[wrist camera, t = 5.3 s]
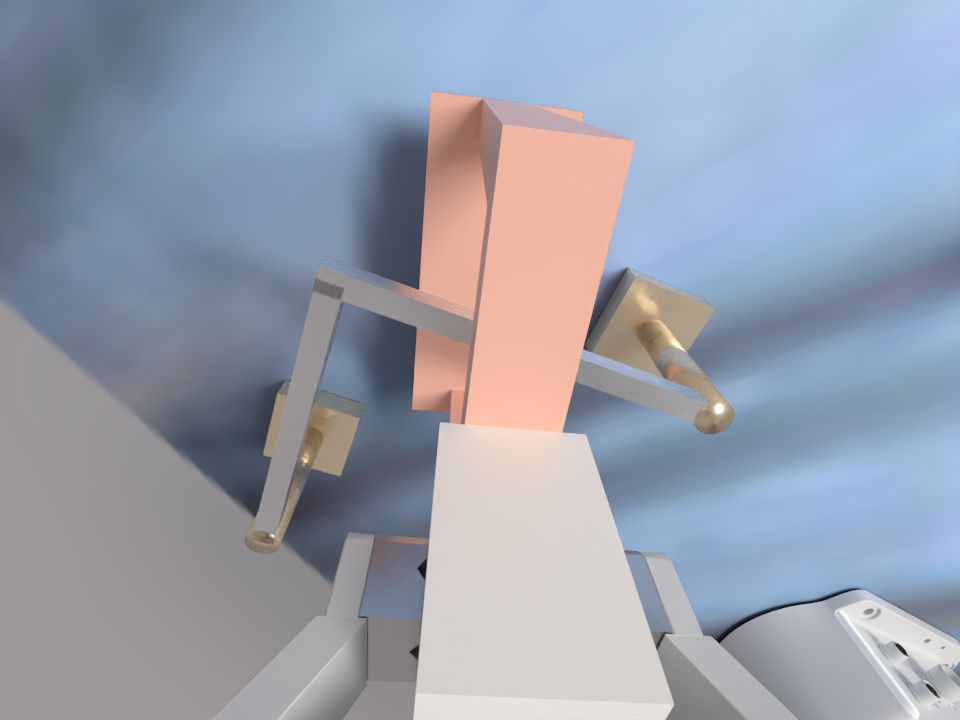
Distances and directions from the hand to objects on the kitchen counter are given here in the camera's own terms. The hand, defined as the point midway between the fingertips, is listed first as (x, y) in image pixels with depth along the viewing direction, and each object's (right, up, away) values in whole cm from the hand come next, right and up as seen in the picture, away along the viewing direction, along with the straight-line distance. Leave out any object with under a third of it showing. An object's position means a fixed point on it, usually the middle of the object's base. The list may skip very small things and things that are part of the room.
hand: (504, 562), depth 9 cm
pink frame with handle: (0, +8, +14) cm, 17 cm away
